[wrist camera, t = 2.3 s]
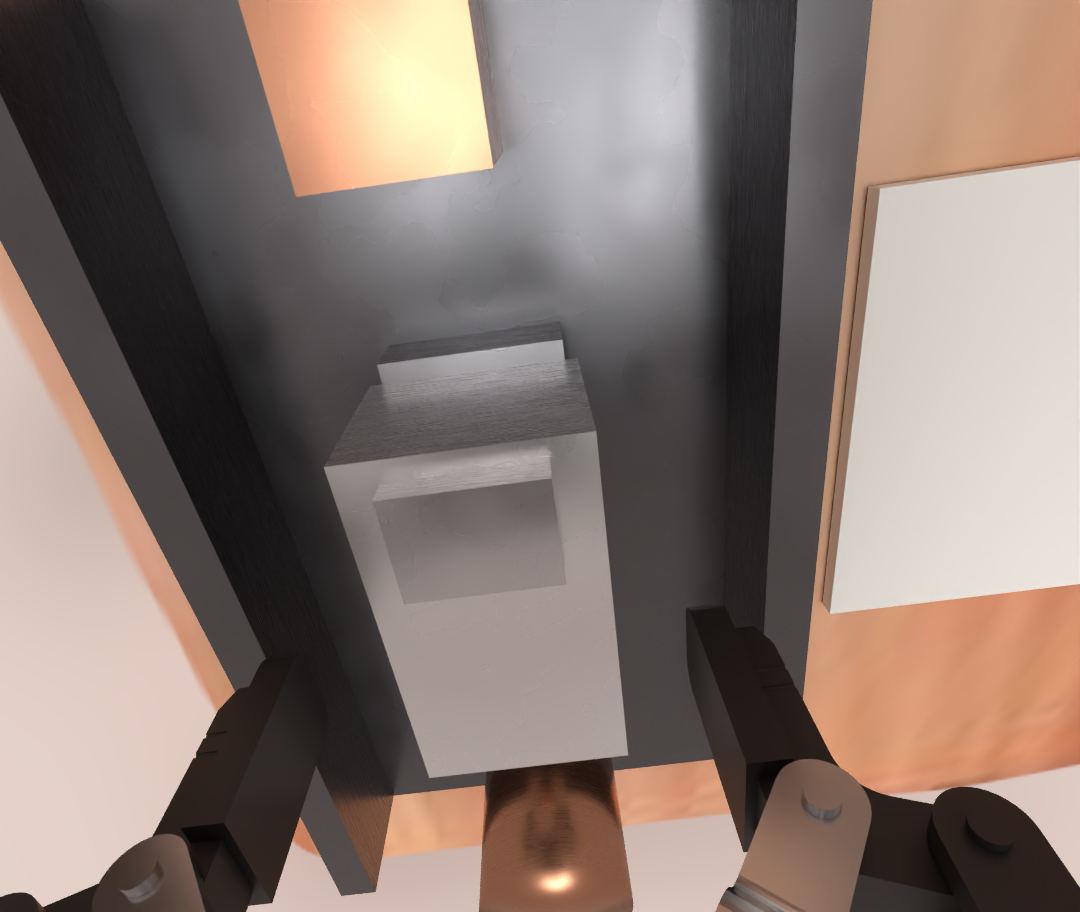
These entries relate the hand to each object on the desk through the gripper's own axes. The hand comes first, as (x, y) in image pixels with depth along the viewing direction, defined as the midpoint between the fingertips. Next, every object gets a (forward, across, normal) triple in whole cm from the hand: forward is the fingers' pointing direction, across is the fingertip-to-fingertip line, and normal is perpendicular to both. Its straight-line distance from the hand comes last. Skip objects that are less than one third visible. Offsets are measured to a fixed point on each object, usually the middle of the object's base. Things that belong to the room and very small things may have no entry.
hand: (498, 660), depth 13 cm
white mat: (+7, -18, 0) cm, 19 cm away
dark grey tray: (+8, 0, 0) cm, 8 cm away
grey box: (+4, 0, 0) cm, 5 cm away
